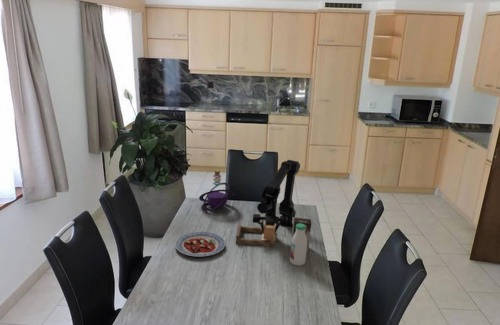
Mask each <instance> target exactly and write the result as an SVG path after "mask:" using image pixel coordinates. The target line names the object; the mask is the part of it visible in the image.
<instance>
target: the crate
mask: <svg viewBox="0 0 500 325" xmlns="http://www.w3.org/2000/svg"><path fill="white" fill-rule="evenodd" d="M265 223H266V222H264V236H263V235H262V236H263V239H269V240H274V239H275V240H276V233H275V226H276V224H275V225H274V226H270V225H268V226H267V225H266V224H265Z"/></svg>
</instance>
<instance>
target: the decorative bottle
mask: <svg viewBox="0 0 500 325" xmlns="http://www.w3.org/2000/svg"><path fill="white" fill-rule="evenodd" d="M220 172H221V170H218V169H216V170H214V175H213V176H212V177H213V178H212V180H213V182H212V185H214V187H212V188H211V189H210V190H209V191H206V192H205V193H204V192H203V193H202V194H201V195H200V196H199V197H198V200H200V202H201V201H202V202H203V208H204V210H205V211H208V212H210V211H214V210H219V209H221V208H223V207H224V206H225V205H227V203H228V200H229V199H231V198H233V197H234V196H235V192H234V191H233V190H230V189H231V188H230V184H229V183H227V182H222V175H221V174H220ZM222 185H225V186H226V187H227V189H216V188H217V187H219V186H222ZM204 197H205V198H204ZM206 204H207V205H208V206H209V207H210V208H209V207H207V206H206Z"/></svg>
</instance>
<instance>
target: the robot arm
mask: <svg viewBox="0 0 500 325" xmlns="http://www.w3.org/2000/svg"><path fill="white" fill-rule="evenodd" d="M300 167H301V164H300V162H299V161H297V160H292V159H287V160H285V161H282V162H281V164H280V167H279V169H278V171H277V172H276V174H275V175H274V178H273V179H271V180H270V181H269V182H268V183H267V184H266V185H265V186H264V188H263V192H262V194H261V200H260V203H258V204H257V206H256V208H257V211H258V212H259V213H254V214H253V215H252V223H255V224H258V225H259V226H260V227H261V228H262V231H263V233H264V223H265V224H266V225H267V226H268V225H270V226H274V225H275V234H277V231H278V229H279V228H280V227H292V228H293V219H294V217H295V218H296V213H297V211H296V210H295V204H294V201H293V196H294V195H293V192H294V187H295V186H294V185H295V178H296V175H297V174H298V173H299V170H300ZM285 178H286V180H285V185H284V186H285V188H284V194H283V199H282V200H281V201H280V202H279V206H278V215H280V216H276V214H277V204H278V203H277V201H278V198H279V195H280V193H281V185H282V183H283V181H284V179H285ZM261 214H262V215H263V214H264V216H261ZM264 221H265V222H264ZM263 233H262V234H263Z"/></svg>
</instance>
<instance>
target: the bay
mask: <svg viewBox="0 0 500 325" xmlns="http://www.w3.org/2000/svg"><path fill="white" fill-rule="evenodd" d="M242 232H247V233H261V234H262V238H261V239H259V238H258V239H257V238H256V239H255V238H242V237H241V233H242ZM263 236H264V233H263V231H262V228H261V226H260V227H259V226H244V225H242V222H238V225H237V231H236V234H235V244H236V245H237V244H241V245H254V246H267V247H268V246H269V247H275V246H276V238H275V239H274V240H269V239H263Z"/></svg>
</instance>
